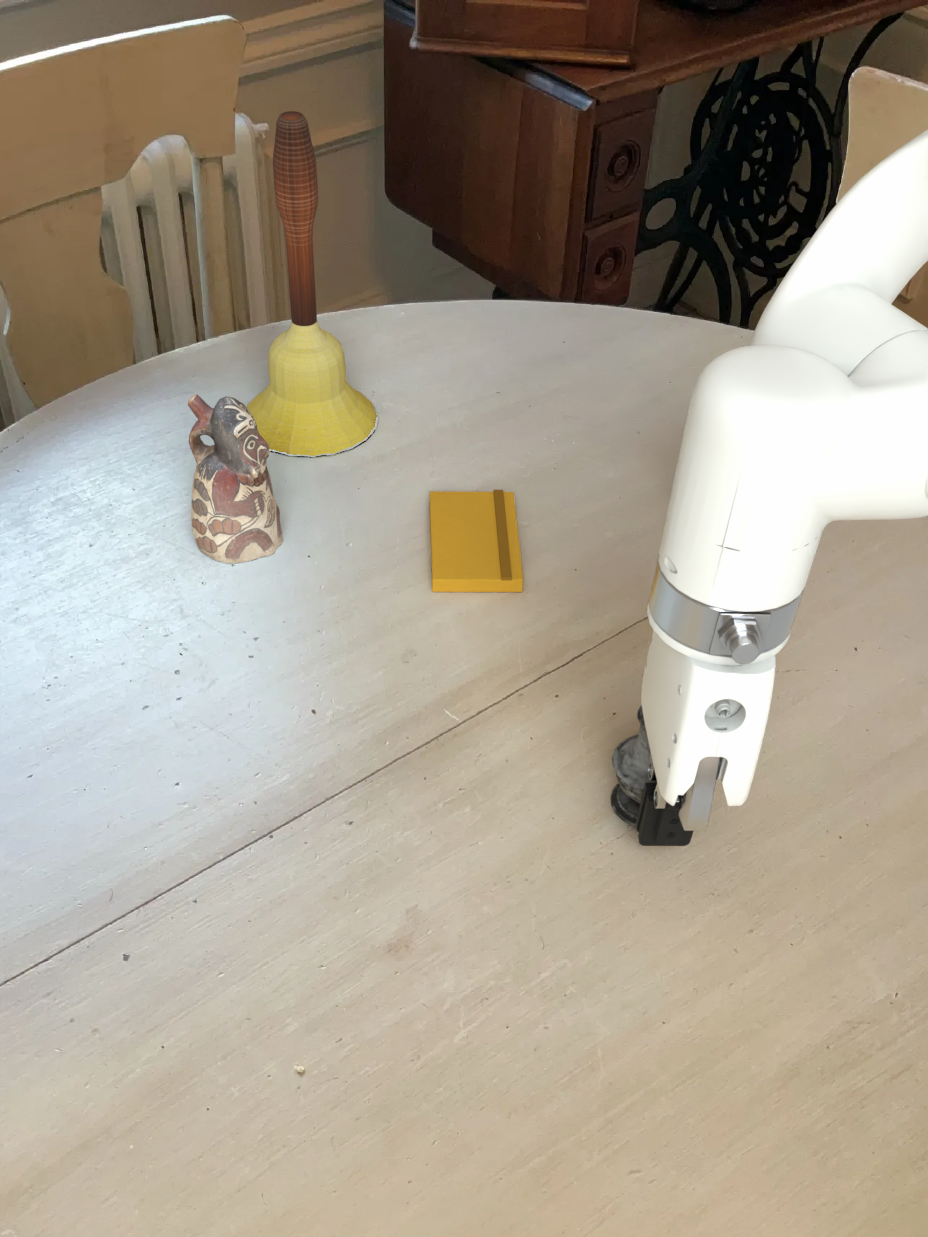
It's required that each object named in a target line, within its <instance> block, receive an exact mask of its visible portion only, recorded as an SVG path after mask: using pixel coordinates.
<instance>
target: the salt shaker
mask: <svg viewBox="0 0 928 1237" xmlns="http://www.w3.org/2000/svg"><path fill="white" fill-rule="evenodd" d="M636 717H637V720H638V722H639V724H640V725H639V731H638V733H637V734H634V735H632V736H629V737H626V738H625V739H624V740H622V741H621V742H620V743H618V745H617V746H616V747H615V749H614V750H613V753H612V756H611V762H612V768H613V770H614V772H615V776H616V779H617V782H618V783H617V784H616V785H615V786H614V788H613V789H612V792H611V795H610V804H611V808H612V809H613V811H614V813H615V815H617V817H618V818H620V820H622V821H623V822H625V823H626V824H628V825H629V826H632V827H634V828H636V820H637V816H638V811H639V807H640V803H641V799H642V794H643V790H644V786H645V783H655V781H650V780H649V778H648V764H649V759H650V753H651V751H650V747H649V742H648V737H647V732H646V727H645V722H644V716H643V710H642V704H641V705H640V706H639V707H638V709H637V713H636Z"/></svg>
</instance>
